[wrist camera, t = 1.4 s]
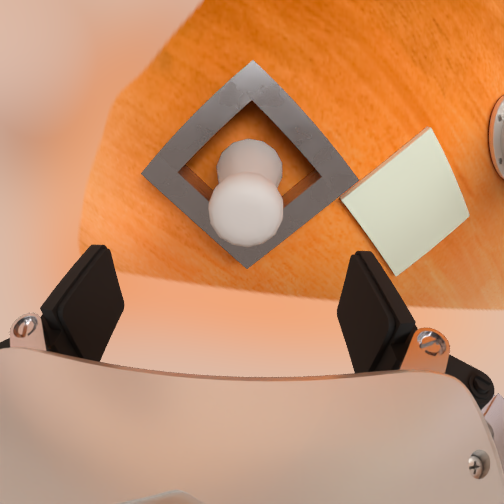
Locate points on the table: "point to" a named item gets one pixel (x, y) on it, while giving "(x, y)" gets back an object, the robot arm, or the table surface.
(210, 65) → the table surface
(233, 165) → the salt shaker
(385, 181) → the mat
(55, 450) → the robot arm
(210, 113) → the grey square frame
